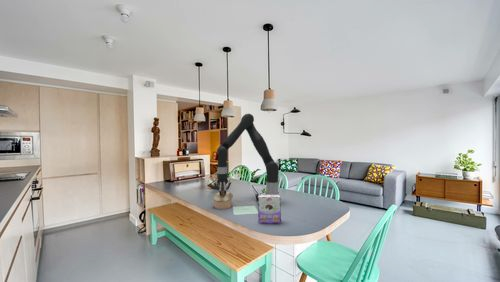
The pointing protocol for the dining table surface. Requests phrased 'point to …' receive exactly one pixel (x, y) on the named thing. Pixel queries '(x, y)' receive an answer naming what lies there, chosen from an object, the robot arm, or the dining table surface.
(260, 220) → the candy box
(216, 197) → the lid
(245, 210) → the mat
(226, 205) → the bowl
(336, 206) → the dining table surface
